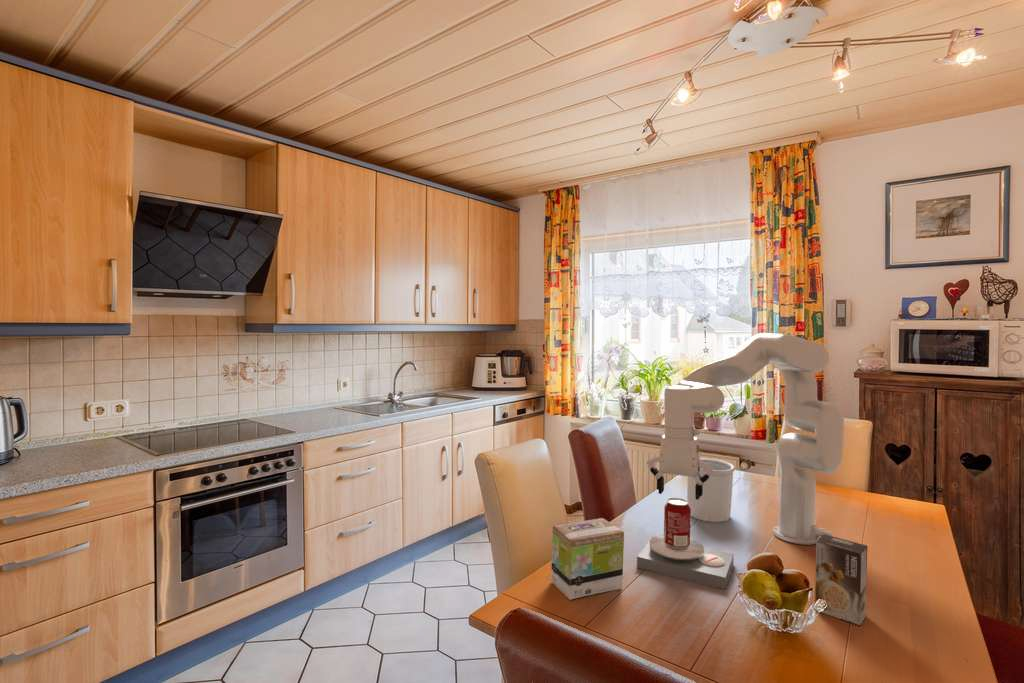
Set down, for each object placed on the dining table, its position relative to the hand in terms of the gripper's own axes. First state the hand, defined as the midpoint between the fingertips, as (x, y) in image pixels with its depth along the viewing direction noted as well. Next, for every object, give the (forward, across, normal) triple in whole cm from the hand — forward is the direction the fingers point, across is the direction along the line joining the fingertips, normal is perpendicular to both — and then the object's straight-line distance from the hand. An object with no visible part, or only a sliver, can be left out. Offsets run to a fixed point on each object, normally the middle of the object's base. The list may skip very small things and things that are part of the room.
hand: (679, 495), depth 142 cm
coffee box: (+20, -37, +6) cm, 42 cm away
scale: (+19, -2, +1) cm, 19 cm away
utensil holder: (+20, -1, -41) cm, 46 cm away
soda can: (+14, +1, +1) cm, 14 cm away
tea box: (+18, +17, +24) cm, 35 cm away
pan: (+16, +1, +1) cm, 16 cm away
